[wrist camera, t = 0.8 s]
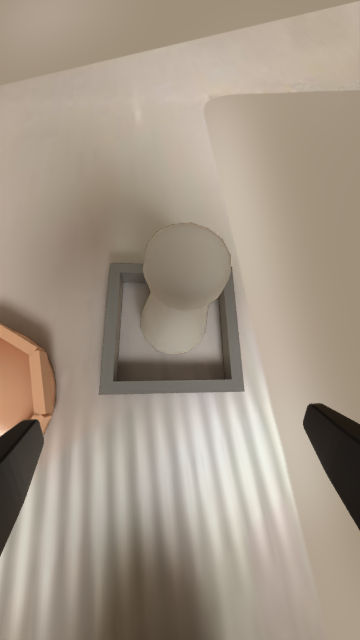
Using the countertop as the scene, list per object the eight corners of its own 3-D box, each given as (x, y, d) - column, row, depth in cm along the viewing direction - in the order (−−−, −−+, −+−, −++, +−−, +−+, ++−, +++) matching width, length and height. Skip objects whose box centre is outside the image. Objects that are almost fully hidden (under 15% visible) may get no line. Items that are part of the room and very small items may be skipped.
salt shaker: (163, 370, 21) (171, 340, 9) (130, 321, 22) (97, 233, 10) (212, 336, 23) (278, 270, 10) (179, 292, 24) (203, 183, 11)
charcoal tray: (236, 391, 21) (244, 391, 19) (104, 394, 20) (99, 394, 18) (226, 276, 25) (231, 266, 23) (113, 273, 24) (109, 262, 22)
